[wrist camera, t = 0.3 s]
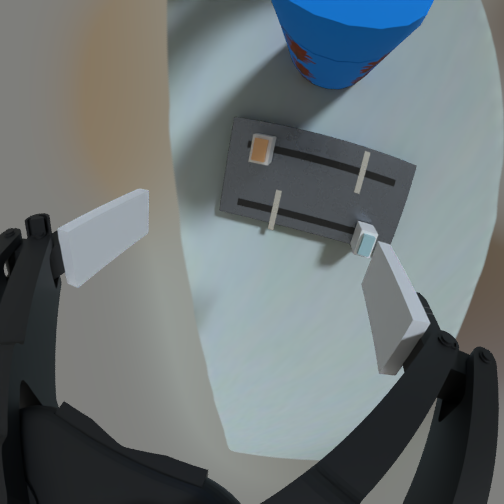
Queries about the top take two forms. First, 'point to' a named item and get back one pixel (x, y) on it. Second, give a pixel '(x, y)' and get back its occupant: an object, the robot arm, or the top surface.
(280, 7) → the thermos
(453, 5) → the top surface
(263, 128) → the console
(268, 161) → the fader
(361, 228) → the fader
